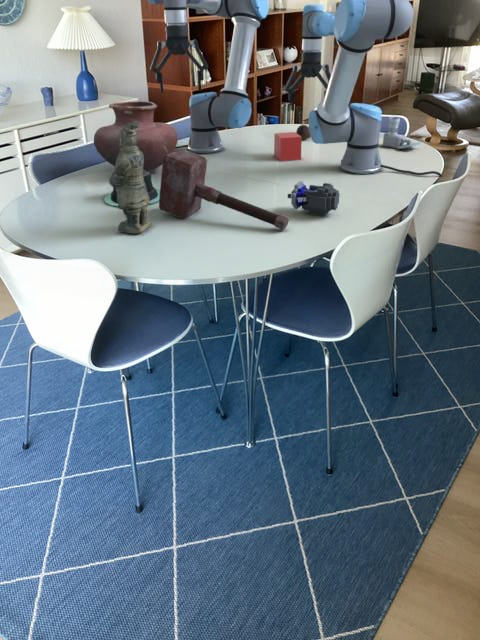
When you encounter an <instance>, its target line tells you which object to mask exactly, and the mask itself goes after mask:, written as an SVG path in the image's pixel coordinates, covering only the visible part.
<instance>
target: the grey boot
mask: <svg viewBox="0 0 480 640" xmlns="http://www.w3.org/2000/svg"><path fill="white" fill-rule="evenodd" d="M400 121H401V118H400V117H398V116H391V117H389V120H388V132H385V133H384V134H383V138H382V146H383V147H385V148H386V147H387V148H393V149H396V150H402V149H410V148H411V149H412V148H413V147H416V146H418V145H422V142H420V141H419V142H413V139H411V138H407V137H406V136H405V135H404V134H399V133H398V132H399V131H398V130H399V125H400Z"/></svg>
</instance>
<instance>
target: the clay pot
mask: <svg viewBox="0 0 480 640" xmlns="http://www.w3.org/2000/svg"><path fill="white" fill-rule="evenodd" d="M157 107H158V105H157V104H155V103H154V102H152V101H145V100H141V101H140V100H138V101H120V102H113V103H109V104H108V108H110V109H112V110H113V113H114V116H115V119H114V122H113V124H110V125H105V126H101V127H98V128H97V130H96V131H95V132H94V135H93V145H94V148H95V149H96V152H97V153H98V154H99V155H100V156H101V157H102V158H103V159H104V160H105V161H106V162H107V163H108V164H110V165H111V166H113V167H115V164H116V160H117V156H118V154H119V151H120V147H119V140H118V138H119V133H120V130H121V129H123V128H124V127H125V126H126V125H127V124H128V123H131V122H133V121H137V122H138V123H139V127H138V130H137V131H136V138H137V143H136V146H137V147H138V149H139V150H141V151H142V153H143V156H144V166H143V169H144V170H146V171H147V172H151V171H153V170H157V169H158V168H160V167H161V166H163V158H164V156H165V155H167V154H170V153H172V152H174V151H175V150H176V149H175V147H177V145H178V141H179V140H178V139H179V138H178V133H177V131H176V129H175V128H174V127H173V125H171V124H169V123H166V122H156V121H155V122H154V114H155V110H156V109H157Z"/></svg>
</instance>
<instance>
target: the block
mask: <svg viewBox="0 0 480 640" xmlns="http://www.w3.org/2000/svg"><path fill="white" fill-rule="evenodd" d="M273 135H274V142H273V144H274V146H273V148H274V149H273V156H274V157H275V158H276V159H277V160H278V161H279V162H289V161H299V160H302V144H303V143H302V141H303V140H302V137H301V136H300V135H298V134H297V133H296V131H289V132H279V133H274V134H273Z"/></svg>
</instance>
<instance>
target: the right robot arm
mask: <svg viewBox="0 0 480 640" xmlns="http://www.w3.org/2000/svg"><path fill="white" fill-rule="evenodd" d="M324 9H325V7H324V5H323V4H305V5H304V6H303V11H302V34H301V36H302V37H301V38H302V39H301V40H302V41H301V57H300V58H301V60H300V61H301V63H300V65H296V64H294V65H292V71H291V73H290V75H289V78H288V80H287V82H286V84H285V86H284V87H283V88H284V89H283V90H284V91H285V92H287V93H288V101H289V102H290V110H291V111H292V112H295V100H296V99H295V90H296V89H297V88H298V87H299V85H300V84H301V82H302V81H303V80H304V79H305V78H307V79H308V78H309V79H310V78H315V79H316V78H317V79H318V80H319V82H320V83H321V85H322V86H323V87H324V88H325V90H324V91H323V92H324V94H323V99H322V100H320V102H319V103H318V104H317V108H316V109H313V110H310V111H309V114H308V127H309V131H310V136H311V137H310V138H311V142H312V143H314V144H316V145H325V144H326V145H328V144H341V143H346V149H345V151H344V154H343V156H342V158H341V160H340V170H341V171H343V172H345V173H349V174H355V175H356V174H357V175H369V174H370V175H371V174H376V173H378V172H380V171H382V168H383V169H386V170H391V171H394V172H398V173H402V174H403V173H404V174H409V175H414V176H426V175H431V174H433V175H437V176H439V177H440V178H444V176H443V174H442V173H441V172H439V171H435V170H429V171H424V172H415V171H411V170H406V169H405V170H403V169H399V168H395V167H392V166H388V165H385V164H382V161H381V155H380V150H379V147H380V145H379V144H380V138H381V137H380V136H381V129H382V128H381V127H382V121H383V120H382V115H383V114H382V113H383V112H382V109H381V107H379V106H377V105H372V104H367V103H361V102H360V103H359V102H353V103H350V101H351V98H352V95H353V93H354V89H355V86H356V83H357V80H358V77H359V74H360V71H361V68H362V65H363V63H364V59H365V56H366V54H367V53H369V52H371V51H372V49H373V47H374V45H375V42H376V40H390V39H394V38H398V37H400V36H402V35H403V34H405V33H406V32H407V31H408V30H409V29H410V28H411V25H412V24H413V21H414V15H415V14H414V8H413V5H412V4H411V2H410V1H409V0H341V1H340V2H339V3H338V4H337V7H336V10H335V11H325V10H324ZM329 36H333V37H334V38H335V40H336V43H337V45H338V49H337V52H336V56H335V59H334V63H333V66H332V70H331V72H330V65H329V64H327V63H324V64H322V48H323V37H324V38H325V37H329ZM299 71H301V73H300V74H299V76H298V77H297V78H296V76H297V73H299ZM321 71H324V74H325V76H326V79H327V81H326V80H325V79H324V78H323V76H322V74H321ZM295 78H296V80H295ZM294 80H295V81H294ZM293 81H294V83H293ZM327 82H328V83H327Z"/></svg>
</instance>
